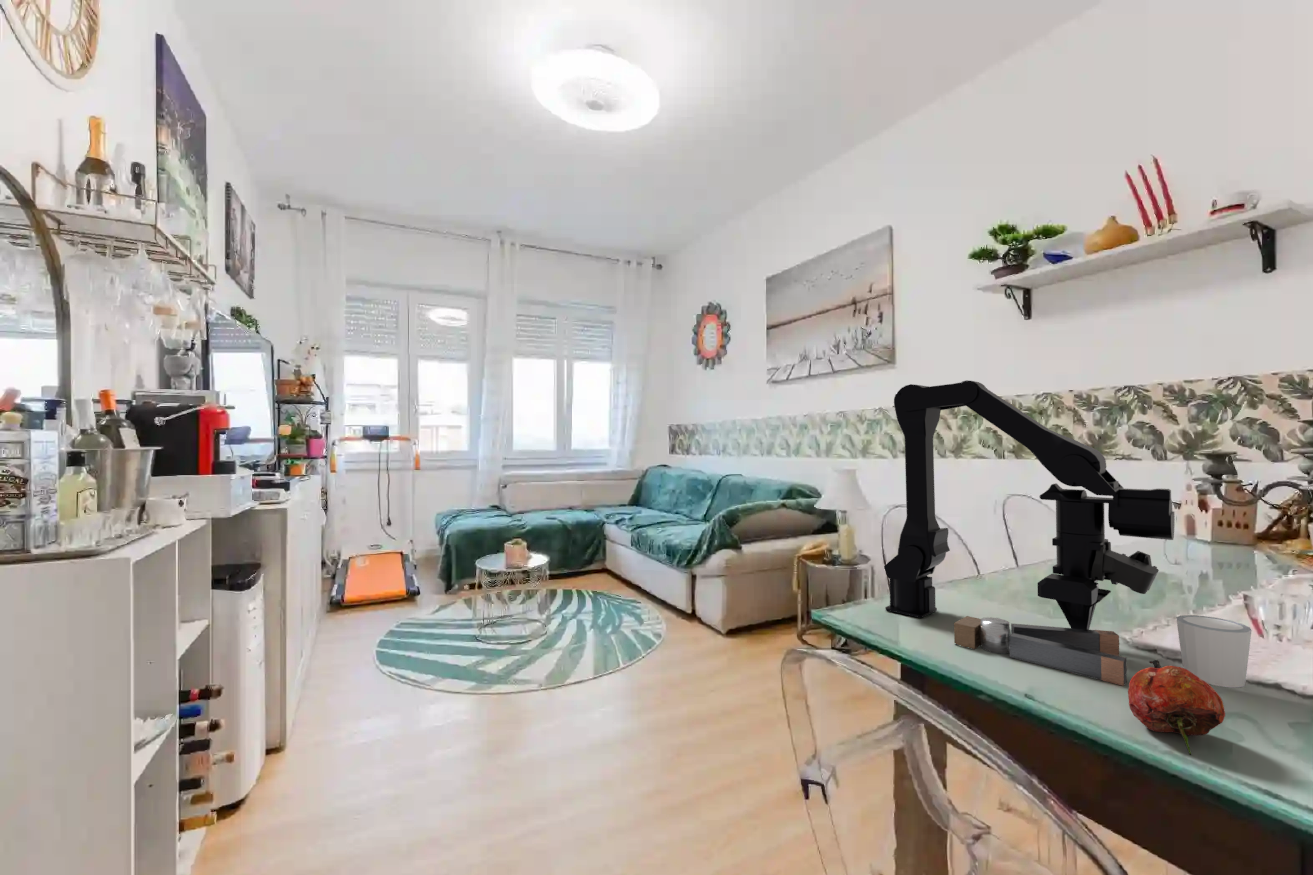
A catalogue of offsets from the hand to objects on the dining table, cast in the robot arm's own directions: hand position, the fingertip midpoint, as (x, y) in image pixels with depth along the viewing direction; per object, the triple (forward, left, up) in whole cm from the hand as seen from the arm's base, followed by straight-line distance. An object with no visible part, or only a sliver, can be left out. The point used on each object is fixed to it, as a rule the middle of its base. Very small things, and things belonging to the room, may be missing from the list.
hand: (1081, 638), depth 84 cm
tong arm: (-1, -5, -1) cm, 5 cm away
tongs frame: (-3, -10, -1) cm, 11 cm away
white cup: (+14, -1, -1) cm, 14 cm away
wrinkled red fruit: (+13, -23, -1) cm, 27 cm away
